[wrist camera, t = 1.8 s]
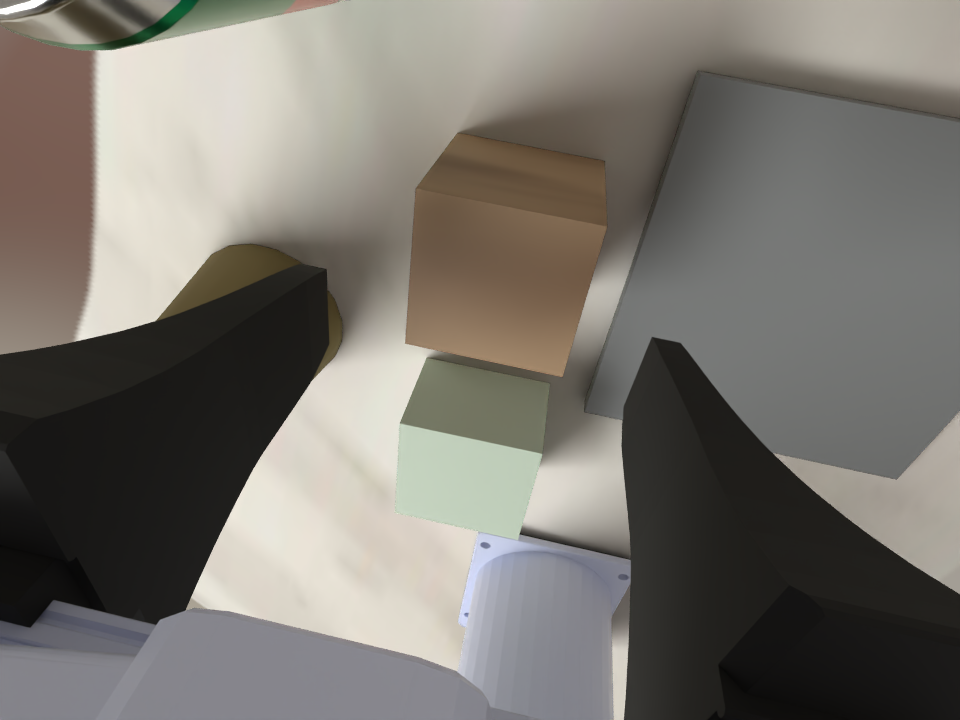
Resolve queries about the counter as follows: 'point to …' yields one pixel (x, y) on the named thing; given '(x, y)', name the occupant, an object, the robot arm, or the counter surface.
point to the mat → (803, 271)
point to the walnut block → (504, 252)
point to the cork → (245, 284)
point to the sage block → (470, 448)
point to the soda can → (133, 19)
